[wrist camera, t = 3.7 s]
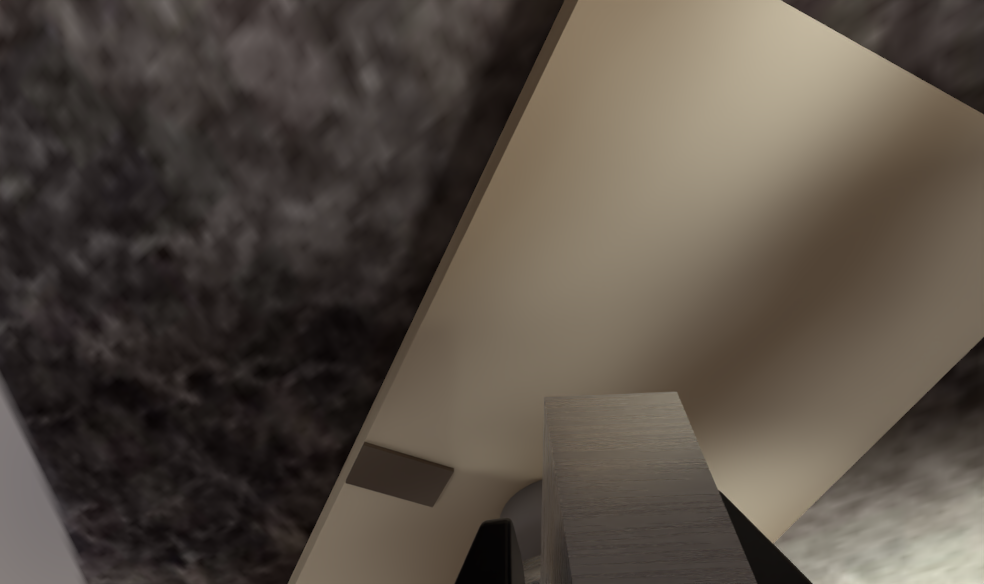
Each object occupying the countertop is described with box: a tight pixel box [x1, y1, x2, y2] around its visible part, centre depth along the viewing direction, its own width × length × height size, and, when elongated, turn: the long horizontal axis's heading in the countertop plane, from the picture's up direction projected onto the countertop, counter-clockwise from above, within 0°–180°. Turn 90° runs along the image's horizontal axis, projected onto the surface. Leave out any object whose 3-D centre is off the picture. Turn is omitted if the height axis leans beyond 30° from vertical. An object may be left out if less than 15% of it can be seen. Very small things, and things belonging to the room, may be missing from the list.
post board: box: [288, 0, 984, 584], centre depth 15 cm, size 10×22×3 cm, turn 155°
